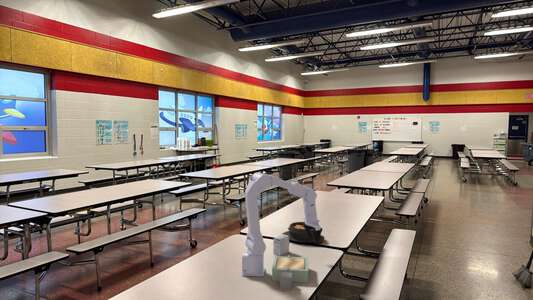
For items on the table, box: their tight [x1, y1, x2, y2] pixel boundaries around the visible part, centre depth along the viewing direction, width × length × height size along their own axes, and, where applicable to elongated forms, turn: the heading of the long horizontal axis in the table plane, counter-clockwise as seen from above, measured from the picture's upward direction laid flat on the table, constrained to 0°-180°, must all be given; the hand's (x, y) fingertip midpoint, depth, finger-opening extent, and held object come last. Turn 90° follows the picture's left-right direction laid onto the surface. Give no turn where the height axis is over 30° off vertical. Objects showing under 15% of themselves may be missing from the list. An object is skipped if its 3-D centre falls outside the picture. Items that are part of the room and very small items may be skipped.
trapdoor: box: [276, 258, 305, 269], centre depth 142 cm, size 12×11×3 cm
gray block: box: [279, 272, 293, 291], centre depth 130 cm, size 4×4×5 cm
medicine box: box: [272, 233, 290, 256], centre depth 166 cm, size 8×4×9 cm, turn 141°
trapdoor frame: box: [271, 255, 309, 284], centre depth 142 cm, size 15×14×6 cm
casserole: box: [282, 221, 325, 244], centre depth 187 cm, size 25×19×8 cm
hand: (313, 240), depth 155 cm, fingers open, 7 cm apart
